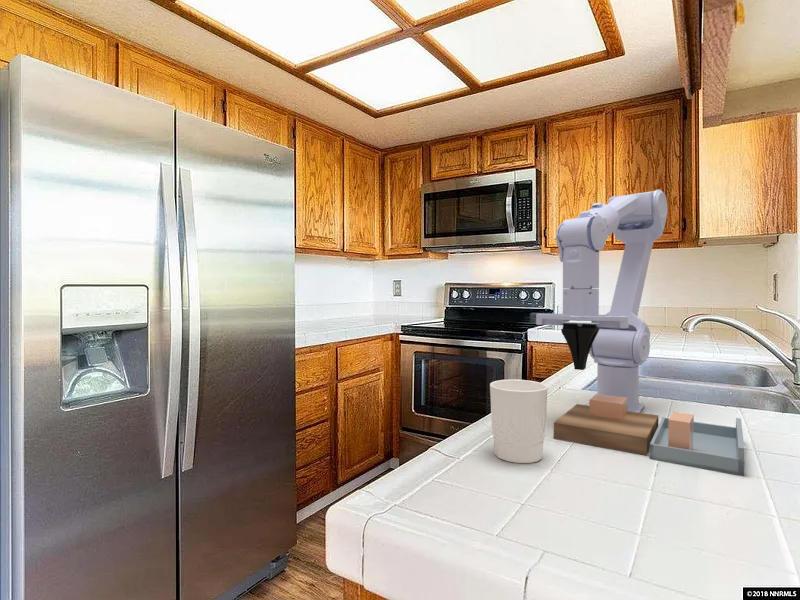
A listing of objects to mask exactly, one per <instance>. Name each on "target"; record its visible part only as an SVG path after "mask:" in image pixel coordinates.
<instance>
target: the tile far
mask: <svg viewBox="0 0 800 600" xmlns="http://www.w3.org/2000/svg"><path fill="white" fill-rule="evenodd" d="M588 406H589V415H596V416H603V417H610V418H616V419H623V418H624V416H625V415H626V414H627V413H628V398H625V397H617V396H609V395H601V394H597V393H596V394H594V395H593V396H592V397H590V399H589V405H588Z"/></svg>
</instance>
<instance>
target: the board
mask: <svg viewBox="0 0 800 600" xmlns="http://www.w3.org/2000/svg"><path fill="white" fill-rule="evenodd" d="M658 426H659V414H653V413H652V414H651V413H644V412H640V413H639V412H631V411H628V413H627V414H626V415H625V416H624V418H623V419H616V418H610V417H603V416H596V415H589V405H587V404H580V403H576V404H575V405H574V406H573V407H571V408H570V409H569V410H567V411H566V412H565V413H563V414H562V415H561V416H560V417H559V418H557V419H556V420H555V421H553V439H555V440H560V441H564V442H565V441H566V442H572V443H577V444H582V445H587V446H592V447H593V446H594V447H597V448H598V447H599V448H605V449H609V450H610V449H611V450H614V451H621V452H625V453H631V454H637V455H643V456H647V455H648V453H649V452H650V443H651V441H652V439H653V436H654V434H655V432H656V430H657V428H658Z"/></svg>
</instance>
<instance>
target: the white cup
mask: <svg viewBox="0 0 800 600" xmlns="http://www.w3.org/2000/svg"><path fill="white" fill-rule="evenodd" d="M548 387H549V386H548V385H546V384H545V383H542V382H538V381H533V380H529V379H528V380H526V379H500V380H495V381H492V382H490V383H489V393H490V394H489V395H490V417H491V418H490V419H491V420H490V421H491V429H492V436H493V437H492V438H493V439H492V440H493V454H494V455H495V457H497V458H498V459H501V460H503V461H505V462H508V463H509V462H510V463H516V464H531V463H537V462H539V461H540V460H542V459H543V457H544V440H545V437H546V434H545V433H546V420H547V405H548V403H547V402H548Z"/></svg>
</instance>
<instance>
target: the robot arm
mask: <svg viewBox="0 0 800 600" xmlns="http://www.w3.org/2000/svg"><path fill="white" fill-rule="evenodd" d="M607 203H608V204H606V203H605V204H604V203H603V202H596V203H593V204H591V205H590V209H589V210H585V211H582V212H580V213H579V216H577V217H576V218H570V219H568V218H567V219H565V220H564V221H563V222H561V223H559V225H558V227H557V231H556V234H555V240H556V245H557V247H558V251H559V253H558V254H559V260H560V262H561V263H562V313H540V312H539V313H536V314H535V315H536V316H535V318H536V320H535V324H536V326H562V328H561V334H562V335H563V338H564V339H565V342H566V343H567V346H568V348H569V350H570V351H569V352H570V354H571V358H572V362H573V366H574V370H579V371H585V370H586V368H587V362H588V357H589V356H590V357H591V358H592V360H594V361H593V362H594V363H595V364H597V365H596V366H597V370H596V371H597V372H596V373H597V375H596V376H597V377H596V379H597V382H596V383H597V384H596V386H597V387H596V391H597V393H596V394H601V395H609V396H617V397H625V398H628V411H631V412H639V413H642V412H641V411H642V410H643V409H644V407H645V404H644V403H641V402H639V399H640V395H639V394H640V393H639V391H640V389H639V388H640V384H639V383H640V375H639V371H640V366H642V365H644V363H645V362H646V361H647V360H648V358H649V355H650V351H651V344H650V340H651V331H650V328H649V326H648V324H647V323H646V322H645V321H644V320H642V319H641V318H640V317H639V316H638V315H639V311H640V305H641V301H642V296H643V292H644V287H645V281H646V277H647V273H648V268H649V263H650V259H651V256H652V255H651V253H652V250H653V246H654V242H656V240H657V239H659V238H661V237H662V236H663V233H664V230H665V226H666V223H667V222H666V221H667V216H668V201H667V197H666V194H665V192H664V191H662V190H661V189H655V190H654V191H653V190H652V191H646V192H638V193H637V192H636V193H631V194H625V195H624V194H623V195H613V196H611V197H609V198H608V202H607ZM612 234H614V237H615V239H616V240H618V241H620V242H622V243H623V244H625V246H624V250H623V255H622V258H621V263H620V267H619V272H618V276H617V279H616V284H615V288H614V293H613V297H612V302H611V305H610V310H609V312H607V313H605V314H600V313H599V312H600V311H599V310H600V305H599V304H600V301H599V300H600V298H599V297H600V292H599V291H600V289H599V288H600V251H601V250H602V251H603V250H604V248H605V246H606V243H607V242H606V241H607V239H608V237H610V235H612ZM571 321H574V322H571ZM576 321H577V322H576ZM586 322H587V323H586ZM588 322H589V323H588ZM590 322H591V323H590Z"/></svg>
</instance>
